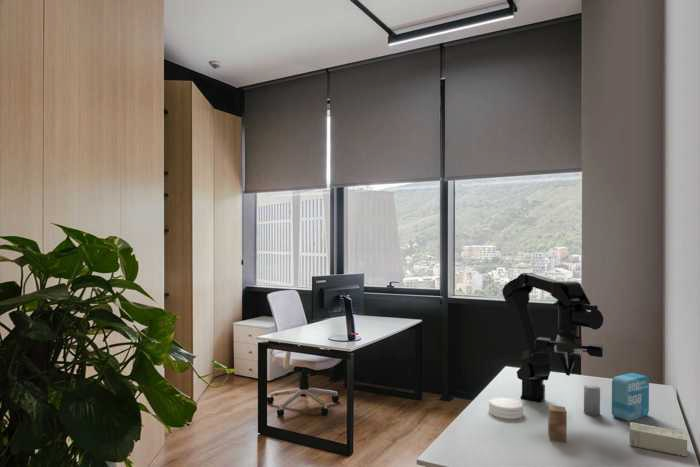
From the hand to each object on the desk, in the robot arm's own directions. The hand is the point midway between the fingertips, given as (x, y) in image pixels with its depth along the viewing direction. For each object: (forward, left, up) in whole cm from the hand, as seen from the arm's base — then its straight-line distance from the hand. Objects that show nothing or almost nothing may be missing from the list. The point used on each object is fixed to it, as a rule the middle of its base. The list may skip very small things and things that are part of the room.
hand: (568, 375), depth 141 cm
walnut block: (0, -20, -12) cm, 23 cm away
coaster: (-16, -9, -12) cm, 22 cm away
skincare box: (+16, -11, -10) cm, 22 cm away
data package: (+16, +10, -12) cm, 23 cm away
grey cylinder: (+6, +6, -12) cm, 15 cm away
